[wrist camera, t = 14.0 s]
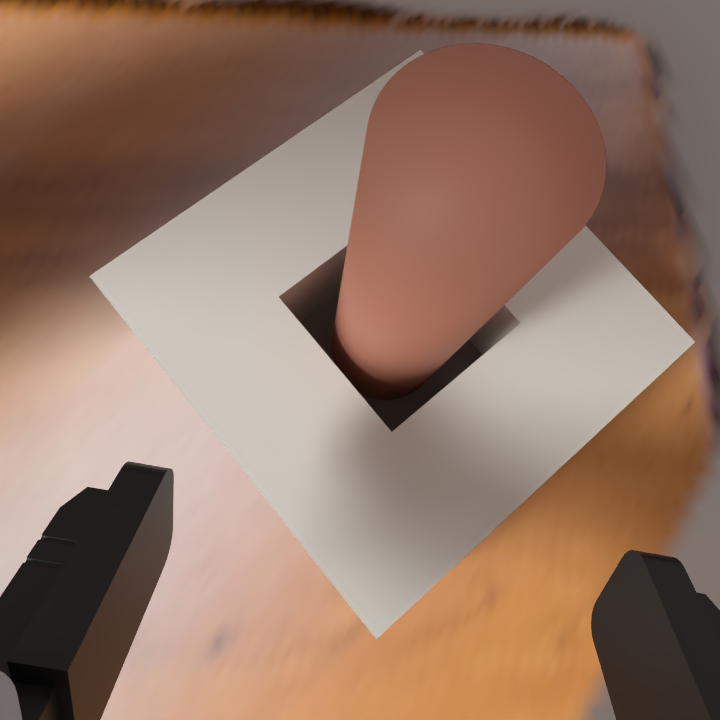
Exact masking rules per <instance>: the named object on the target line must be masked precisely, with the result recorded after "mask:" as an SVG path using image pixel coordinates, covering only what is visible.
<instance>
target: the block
mask: <svg viewBox="0 0 720 720" xmlns="http://www.w3.org/2000/svg"><path fill="white" fill-rule="evenodd" d="M423 54H424V53H423V52H422V50H419V51H418V52H416V53H415V54H413V55H412V56H410V57H409V58H407V59H406V60H404V61H403V62H402V63H400V64H399V65H397V66H396V67H394V68H393V69H391V70H390V71H388V72H387V73H385V74H384V75H383V76H381V77H380V78H378V79H377V80H375V81H374V82H372V83H371V84H369V85H368V86H366V87H365V88H364V89H362V90H361V91H359V92H358V93H356V94H355V95H353V96H352V97H350V98H349V99H347V100H346V101H345V102H343V103H342V104H340V105H339V106H337V107H336V108H334V109H333V110H331V111H330V112H328V113H327V114H326V115H324V116H323V117H321V118H320V119H318V120H317V121H315V122H314V123H312V124H311V125H309V126H308V127H307V128H305V129H304V130H302V131H301V132H299V133H298V134H296V135H295V136H293V137H292V138H290V139H289V140H288V141H286V142H285V143H283V144H282V145H280V146H279V147H277V148H276V149H274V150H273V151H271V152H270V153H269V154H267V155H266V156H264V157H263V158H261V159H260V160H258V161H257V162H255V163H254V164H252V165H251V166H250V167H248V168H247V169H245V170H244V171H242V172H241V173H239V174H238V175H236V176H235V177H233V178H232V179H231V180H229V181H228V182H226V183H225V184H223V185H222V186H220V187H219V188H217V189H216V190H214V191H213V192H212V193H210V194H209V195H207V196H206V197H204V198H203V199H201V200H200V201H198V202H197V203H195V204H194V205H193V206H191V207H190V208H188V209H187V210H185V211H184V212H182V213H181V214H179V215H178V216H176V217H175V218H174V219H172V220H171V221H169V222H168V223H166V224H165V225H163V226H162V227H160V228H159V229H157V230H156V231H155V232H153V233H152V234H150V235H149V236H147V237H146V238H144V239H143V240H141V241H140V242H138V243H137V244H136V245H134V246H133V247H131V248H130V249H128V250H127V251H125V252H124V253H122V254H121V255H120V256H118V257H117V258H115V259H114V260H112V261H111V262H109V263H108V264H106V265H105V266H103V267H102V268H101V269H99V270H98V271H96V272H95V273H93V274H92V275H90V276H89V277H90V278H91V279H92V280H93V282H94V283H95V284H96V285H97V287H98V288H99V289H100V290H101V292H102V293H103V294H104V296H105V297H106V298H107V299H108V301H109V302H110V303H111V304H112V306H113V307H114V308H115V309H116V311H117V312H118V313H119V315H120V316H121V317H122V318H123V320H124V321H125V322H126V323H127V325H128V326H129V327H130V328H131V330H132V331H133V332H134V333H135V335H136V336H137V337H138V339H139V340H140V341H141V342H142V344H143V345H144V346H145V347H146V349H147V350H148V351H149V352H150V354H151V355H152V356H153V358H154V359H155V360H156V361H157V363H158V364H159V365H160V366H161V368H162V369H163V370H164V371H165V373H166V374H167V375H168V376H169V378H170V379H171V380H172V382H173V383H174V384H175V385H176V387H177V388H178V389H179V390H180V392H181V393H182V394H183V395H184V397H185V398H186V399H187V400H188V402H189V403H190V404H191V406H192V407H193V408H194V409H195V411H196V412H197V413H198V414H199V416H200V417H201V418H202V419H203V421H204V422H205V423H206V425H207V426H208V427H209V428H210V430H211V431H212V432H213V433H214V435H215V436H216V437H217V438H218V440H219V441H220V442H221V443H222V445H223V446H224V447H225V449H226V450H227V451H228V452H229V454H230V455H231V456H232V457H233V459H234V460H235V461H236V462H237V464H238V465H239V466H240V468H241V469H242V470H243V471H244V473H245V474H246V475H247V476H248V478H249V479H250V480H251V481H252V483H253V484H254V485H255V486H256V488H257V489H258V490H259V492H260V493H261V494H262V495H263V497H264V498H265V499H266V500H267V502H268V503H269V504H270V505H271V507H272V508H273V509H274V511H275V512H276V513H277V514H278V516H279V517H280V518H281V519H282V521H283V522H284V523H285V524H286V526H287V527H288V528H289V529H290V531H291V532H292V533H293V535H294V536H295V537H296V538H297V540H298V541H299V542H300V543H301V545H302V546H303V547H304V548H305V550H306V551H307V552H308V553H309V555H310V556H311V557H312V559H313V560H314V561H315V562H316V564H317V565H318V566H319V567H320V569H321V570H322V571H323V572H324V574H325V575H326V576H327V578H328V579H329V580H330V581H331V583H332V584H333V585H334V586H335V588H336V589H337V590H338V591H339V593H340V594H341V595H342V596H343V598H344V599H345V600H346V602H347V603H348V604H349V605H350V607H351V608H352V609H353V610H354V612H355V613H356V614H357V615H358V617H359V618H360V619H361V621H362V622H363V623H364V624H365V626H366V627H367V628H368V629H369V631H370V632H371V633H372V634H373V636H374V637H375V638H376V639H377V638H378V637H379V636H380V635H381V634H382V633H383V632H385V631H386V630H387V629H388V628H389V627H390V626H391V625H392V624H393V623H394V622H395V621H396V620H397V619H399V618H400V617H401V616H402V615H403V614H404V613H405V612H406V611H407V610H408V609H409V608H410V607H411V606H412V605H414V604H415V603H416V602H417V601H418V600H419V599H420V598H421V597H422V596H423V595H424V594H425V593H426V592H427V591H429V590H430V589H431V588H432V587H433V586H434V585H435V584H436V583H437V582H438V581H439V580H440V579H441V578H443V577H444V576H445V575H446V574H447V573H448V572H449V571H450V570H451V569H452V568H453V567H454V566H455V565H456V564H458V563H459V562H460V561H461V560H462V559H463V558H464V557H465V556H466V555H467V554H468V553H469V552H470V551H471V550H473V549H474V548H475V547H476V546H477V545H478V544H479V543H480V542H481V541H482V540H483V539H484V538H485V537H487V536H488V535H489V534H490V533H491V532H492V531H493V530H494V529H495V528H496V527H497V526H498V525H499V524H500V523H502V522H503V521H504V520H505V519H506V518H507V517H508V516H509V515H510V514H511V513H512V512H513V511H514V510H515V509H517V508H518V507H519V506H520V505H521V504H522V503H523V502H524V501H525V500H526V499H527V498H528V497H529V496H531V495H532V494H533V493H534V492H535V491H536V490H537V489H538V488H539V487H540V486H541V485H542V484H543V483H544V482H546V481H547V480H548V479H549V478H550V477H551V476H552V475H553V474H554V473H555V472H556V471H557V470H558V469H559V468H561V467H562V466H563V465H564V464H565V463H566V462H567V461H568V460H569V459H570V458H571V457H572V456H573V455H574V454H576V453H577V452H578V451H579V450H580V449H581V448H582V447H583V446H584V445H585V444H586V443H587V442H588V441H590V440H591V439H592V438H593V437H594V436H595V435H596V434H597V433H598V432H599V431H600V430H601V429H602V428H603V427H605V426H606V425H607V424H608V423H609V422H610V421H611V420H612V419H613V418H614V417H615V416H616V415H617V414H618V413H620V412H621V411H622V410H623V409H624V408H625V407H626V406H627V405H628V404H629V403H630V402H631V401H632V400H634V399H635V398H636V397H637V396H638V395H639V394H640V393H641V392H642V391H643V390H644V389H645V388H646V387H647V386H649V385H650V384H651V383H652V382H653V381H654V380H655V379H656V378H657V377H658V376H659V375H660V374H661V373H662V372H664V371H665V370H666V369H667V368H668V367H669V366H670V365H671V364H672V363H673V362H674V361H675V360H676V359H678V358H679V357H680V356H681V355H682V354H683V353H684V352H685V351H686V350H687V349H688V348H689V347H690V346H691V345H693V344H694V343H695V341H694V340H693V339H692V338H691V337H690V336H689V335H688V334H687V333H686V332H685V331H684V329H683V328H682V327H681V326H680V325H679V324H678V323H677V322H676V321H675V320H674V319H673V318H672V317H671V316H670V315H669V314H668V312H667V311H666V310H665V309H664V308H663V307H662V306H661V305H660V304H659V303H658V302H657V301H656V300H655V299H654V298H653V296H652V295H651V294H650V293H649V292H648V291H647V290H646V289H645V288H644V287H643V286H642V285H641V284H640V283H639V282H638V280H637V279H636V278H635V277H634V276H633V275H632V274H631V273H630V272H629V271H628V270H627V269H626V268H625V267H624V266H623V265H622V263H621V262H620V261H619V260H618V259H617V258H616V257H615V256H614V255H613V254H612V253H611V252H610V251H609V250H608V249H607V247H606V246H605V245H604V244H603V243H602V242H601V241H600V240H599V239H598V238H597V237H596V236H595V235H594V234H593V233H592V232H591V230H590V229H589V228H588V227H587V226H586V225H585V226H584V228H583V229H582V230H581V231H580V232H579V233H578V234H577V235H576V236H575V237H574V238H573V239H572V240H571V241H570V242H569V243H568V244H567V245H566V246H565V247H564V248H563V249H562V250H561V251H559V252H558V253H557V254H556V255H555V256H554V257H553V258H552V259H551V260H550V261H549V262H548V263H547V264H546V265H545V266H544V267H543V268H542V269H541V270H540V271H539V272H538V273H537V274H536V275H535V276H534V277H533V278H532V279H531V280H530V281H529V282H528V283H526V284H525V285H524V286H523V287H522V288H521V289H520V290H519V291H518V292H517V293H516V294H515V295H514V296H513V297H512V298H511V299H510V300H509V301H508V302H507V303H506V304H505V305H504V306H503V307H502V308H501V309H500V310H499V311H498V312H497V313H496V314H495V315H494V316H492V317H491V318H490V319H489V320H488V321H487V322H486V323H485V324H484V325H483V326H482V327H481V328H480V329H479V330H478V331H477V332H476V333H475V334H474V335H473V336H472V337H471V338H470V339H469V340H468V341H467V342H466V343H465V344H464V345H463V346H462V347H461V348H459V349H458V350H457V351H456V352H455V353H454V354H453V355H452V356H451V357H450V358H449V359H448V360H447V361H446V362H445V363H444V364H443V365H442V366H441V367H440V368H439V369H438V370H437V371H436V372H435V373H434V374H433V375H432V376H431V377H430V378H429V379H428V380H427V381H425V382H424V383H423V384H422V385H421V386H420V387H419V388H418V389H417V390H415V391H414V392H412V393H410V394H408V395H406V396H404V397H401V398H397V399H390V400H380V399H374V398H370V397H367V396H364V395H362V394H360V393H359V392H358V391H357V390H356V389H355V388H354V386H353V385H352V384H351V383H350V382H349V380H348V379H347V378H346V377H345V376H344V374H343V373H342V372H341V371H340V370H339V368H338V367H337V366H336V365H335V364H334V362H333V358H332V351H331V341H332V335H333V329H334V323H335V317H336V311H337V305H338V299H339V293H340V287H341V281H342V275H343V269H344V263H345V257H346V251H347V245H348V239H349V233H350V227H351V221H352V215H353V209H354V203H355V197H356V191H357V185H358V179H359V173H360V167H361V161H362V155H363V149H364V143H365V137H366V131H367V125H368V120H369V116H370V113H371V110H372V107H373V105H374V103H375V101H376V99H377V97H378V95H379V93H380V91H381V90H382V89H383V87H384V86H385V84H386V83H387V82H388V81H389V79H390V78H391V77H392V76H393V75H394V74H395V73H396V72H397V71H398V70H400V69H401V68H402V67H403V66H405V65H406V64H407V63H409V62H410V61H412V60H414V59H416V58H417V57H419V56H421V55H423Z"/></svg>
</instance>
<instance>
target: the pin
mask: <svg viewBox="0 0 720 720" xmlns="http://www.w3.org/2000/svg"><path fill="white" fill-rule="evenodd" d="M606 166H607V164H606V151H605V146H604V141H603V137H602V134H601V131H600V128H599V125H598V123H597V121H596V119H595V117H594V115H593V113H592V111H591V109H590V108H589V106H588V104H587V103H586V101H585V100H584V98H583V97H582V96H581V95H580V94H579V92H578V91H577V90H576V89H575V88H574V87H573V85H571V84H570V83H569V82H568V81H567V80H566V79H565V78H564V77H563V76H562V75H560V74H559V73H558V72H556V71H555V70H554V69H552V68H551V67H550V66H548V65H546V64H545V63H543V62H541V61H539V60H538V59H536V58H534V57H531V56H529V55H527V54H525V53H522V52H519V51H516V50H513V49H510V48H506V47H501V46H497V45H490V44H479V43H476V44H458V45H452V46H446V47H443V48H439V49H435V50H433V51H430V52H428V53H425V54H423V55H421V56H419V57H417V58H416V59H414V60H412V61H410V62H409V63H407V64H406V65H405V66H403V67H402V68H401V69H400V70H398V71H397V72H396V73H395V74H394V75H393V76H392V77H391V78H390V79H389V81H388V82H387V83H386V84H385V86H384V87H383V89H382V90H381V91H380V93H379V95H378V97H377V99H376V101H375V103H374V105H373V107H372V110H371V113H370V116H369V120H368V125H367V131H366V137H365V143H364V149H363V155H362V161H361V167H360V173H359V179H358V185H357V191H356V197H355V203H354V209H353V215H352V221H351V227H350V233H349V239H348V245H347V251H346V257H345V263H344V269H343V275H342V281H341V287H340V293H339V299H338V305H337V311H336V317H335V323H334V329H333V335H332V341H331V351H332V358H333V362H334V364H335V365H336V366H337V367H338V368H339V370H340V371H341V372H342V373H343V374H344V376H345V377H346V378H347V379H348V380H349V382H350V383H351V384H352V385H353V386H354V388H355V389H356V390H357V391H358V392H359V393H360V394H362V395H364V396H367V397H370V398H374V399H380V400H390V399H397V398H401V397H404V396H406V395H408V394H410V393H412V392H414V391H415V390H417V389H418V388H419V387H420V386H421V385H422V384H423V383H424V382H425V381H427V380H428V379H429V378H430V377H431V376H432V375H433V374H434V373H435V372H436V371H437V370H438V369H439V368H440V367H441V366H442V365H443V364H444V363H445V362H446V361H447V360H448V359H449V358H450V357H451V356H452V355H453V354H454V353H455V352H456V351H457V350H458V349H459V348H461V347H462V346H463V345H464V344H465V343H466V342H467V341H468V340H469V339H470V338H471V337H472V336H473V335H474V334H475V333H476V332H477V331H478V330H479V329H480V328H481V327H482V326H483V325H484V324H485V323H486V322H487V321H488V320H489V319H490V318H491V317H492V316H494V315H495V314H496V313H497V312H498V311H499V310H500V309H501V308H502V307H503V306H504V305H505V304H506V303H507V302H508V301H509V300H510V299H511V298H512V297H513V296H514V295H515V294H516V293H517V292H518V291H519V290H520V289H521V288H522V287H523V286H524V285H525V284H526V283H528V282H529V281H530V280H531V279H532V278H533V277H534V276H535V275H536V274H537V273H538V272H539V271H540V270H541V269H542V268H543V267H544V266H545V265H546V264H547V263H548V262H549V261H550V260H551V259H552V258H553V257H554V256H555V255H556V254H557V253H558V252H559V251H561V250H562V249H563V248H564V247H565V246H566V245H567V244H568V243H569V242H570V241H571V240H572V239H573V238H574V237H575V236H576V235H577V234H578V233H579V232H580V231H581V230H582V229H583V228H584V226H585V225H586V224H587V223H588V221H589V220H590V219H591V217H592V215H593V213H594V212H595V210H596V208H597V206H598V204H599V201H600V198H601V196H602V193H603V189H604V184H605V180H606Z"/></svg>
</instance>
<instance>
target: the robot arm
mask: <svg viewBox="0 0 720 720" xmlns="http://www.w3.org/2000/svg"><path fill="white" fill-rule="evenodd" d="M173 483H174V475H173V470H172V469H169V468H163V467H158V466H152V465H146V464H140V463H134V462H127V463H125V464H124V465H123V467H122V468H121V470H120V471H119V473H118V475H117V477H116V478H115V480H114V482H113V483H112V485H111V487H110V488H109V490H103V489H97V488H91V487H87V488H86V489H84V490H83V491H82V492H80V493H79V494H78V495H76V496H75V497H73V498H72V499H71V500H69V501H68V502H67V503H65V504H64V505H63V506H61V507H60V508H59V510H58V511H57V513H56V514H55V516H54V517H53V519H52V520H51V522H50V523H49V525H48V526H47V528H46V529H45V531H44V532H43V534H42V538H41V540H38V541H37V543H36V544H35V546H34V547H33V549H32V550H31V552H30V553H29V555H28V556H27V560H26V562H25V563H23V564H22V565H21V567H20V568H19V570H18V571H17V573H16V574H15V576H14V577H13V579H12V580H11V582H10V583H9V585H8V586H7V588H6V589H5V591H4V592H3V594H2V595H1V597H0V720H100V719H101V717H102V714H103V712H104V709H105V707H106V705H107V702H108V700H109V697H110V695H111V693H112V690H113V688H114V685H115V683H116V681H117V678H118V676H119V673H120V671H121V669H122V666H123V664H124V661H125V659H126V657H127V654H128V652H129V649H130V647H131V645H132V642H133V640H134V637H135V635H136V633H137V630H138V628H139V625H140V623H141V621H142V618H143V616H144V613H145V611H146V609H147V606H148V604H149V601H150V599H151V597H152V594H153V592H154V589H155V587H156V585H157V582H158V580H159V577H160V575H161V573H162V570H163V568H164V565H165V562H166V560H167V556H168V553H169V549H170V545H171V539H172V532H173ZM591 629H592V637H593V641H594V645H595V648H596V652H597V655H598V658H599V662H600V665H601V669H602V672H603V675H604V679H605V682H606V686H607V689H608V692H609V696H610V699H611V703H612V706H613V710H614V713H615V716H616V720H720V610H719V609H718V608H717V607H716V606H715V605H714V604H713V602H712V601H711V600H710V599H709V598H708V597H707V596H706V595H705V594H701V593H696V591H695V589H694V587H693V585H692V583H691V580H690V578H689V576H688V574H687V572H686V570H685V568H684V566H683V565H682V563H681V562H680V561H679V560H678V559H676V558H674V557H669V556H663V555H658V554H652V553H646V552H640V551H634V550H630V551H628V552H627V553H625V554H624V556H623V557H622V559H621V561H620V562H619V564H618V566H617V567H616V569H615V571H614V572H613V574H612V576H611V577H610V579H609V581H608V582H607V584H606V586H605V587H604V589H603V591H602V592H601V594H600V596H599V597H598V599H597V601H596V603H595V605H594V608H593V612H592V619H591Z"/></svg>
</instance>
